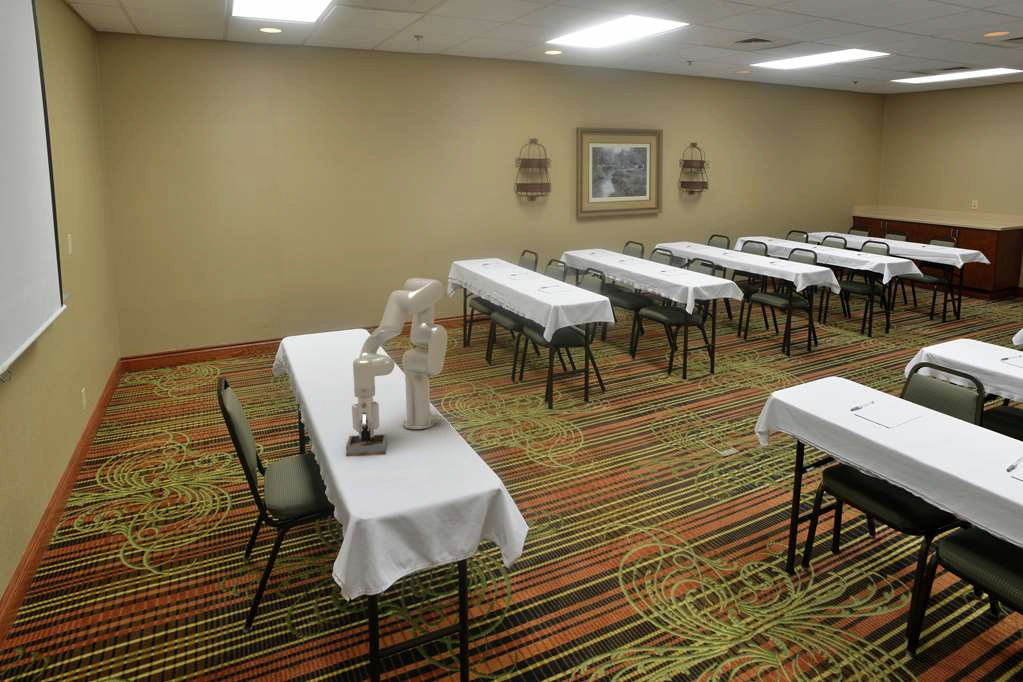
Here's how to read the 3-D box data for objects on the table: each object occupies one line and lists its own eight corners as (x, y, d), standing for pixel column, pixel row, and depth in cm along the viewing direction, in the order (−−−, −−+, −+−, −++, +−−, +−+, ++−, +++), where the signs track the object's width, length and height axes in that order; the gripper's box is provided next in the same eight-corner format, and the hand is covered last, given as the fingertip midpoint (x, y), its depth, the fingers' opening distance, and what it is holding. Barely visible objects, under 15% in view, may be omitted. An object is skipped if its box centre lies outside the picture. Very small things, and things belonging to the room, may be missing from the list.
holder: (387, 443, 255) (386, 434, 254) (385, 454, 243) (384, 444, 243) (350, 445, 253) (349, 435, 253) (346, 456, 242) (345, 446, 241)
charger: (380, 442, 248) (379, 404, 245) (356, 446, 244) (354, 407, 241) (376, 438, 252) (375, 401, 249) (353, 443, 248) (351, 404, 245)
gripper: (373, 397, 236) (375, 445, 240) (376, 385, 253) (378, 429, 256) (351, 398, 235) (354, 446, 239) (356, 385, 252) (359, 430, 256)
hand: (366, 437), depth 248 cm, fingers closed on charger, 6 cm apart
